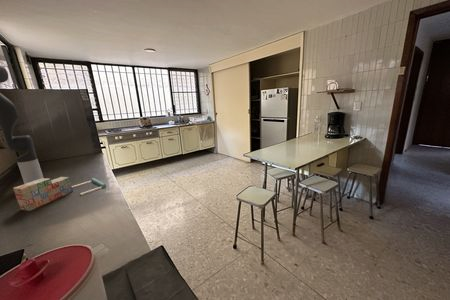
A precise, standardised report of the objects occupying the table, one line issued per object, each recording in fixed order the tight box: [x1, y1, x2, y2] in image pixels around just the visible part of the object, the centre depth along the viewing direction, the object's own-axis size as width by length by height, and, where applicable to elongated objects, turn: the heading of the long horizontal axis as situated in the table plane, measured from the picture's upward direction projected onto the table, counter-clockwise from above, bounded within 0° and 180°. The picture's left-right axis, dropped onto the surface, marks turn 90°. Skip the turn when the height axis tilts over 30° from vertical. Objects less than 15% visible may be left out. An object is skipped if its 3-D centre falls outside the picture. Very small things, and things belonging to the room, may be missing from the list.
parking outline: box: [71, 177, 107, 196], centre depth 115 cm, size 19×13×2 cm
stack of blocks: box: [12, 176, 74, 212], centre depth 100 cm, size 21×6×12 cm, turn 165°
